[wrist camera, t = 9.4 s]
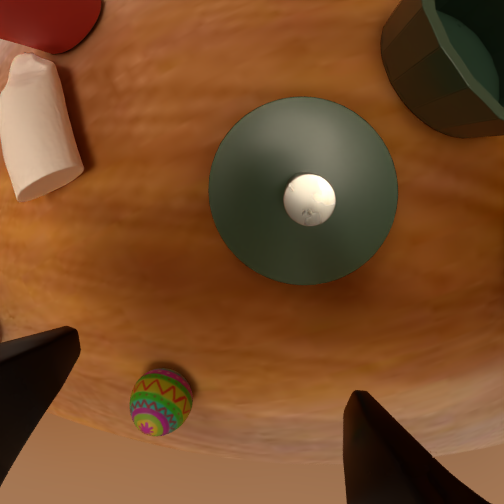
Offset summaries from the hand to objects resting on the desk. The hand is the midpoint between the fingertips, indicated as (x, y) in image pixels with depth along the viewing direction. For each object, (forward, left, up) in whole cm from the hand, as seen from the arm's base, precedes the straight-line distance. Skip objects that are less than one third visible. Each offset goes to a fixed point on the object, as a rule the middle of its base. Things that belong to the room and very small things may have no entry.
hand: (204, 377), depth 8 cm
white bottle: (+17, -9, -12) cm, 23 cm away
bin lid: (-3, -5, -11) cm, 13 cm away
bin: (-12, -16, -12) cm, 23 cm away
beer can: (+17, -18, -12) cm, 28 cm away
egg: (+5, +12, -12) cm, 18 cm away
